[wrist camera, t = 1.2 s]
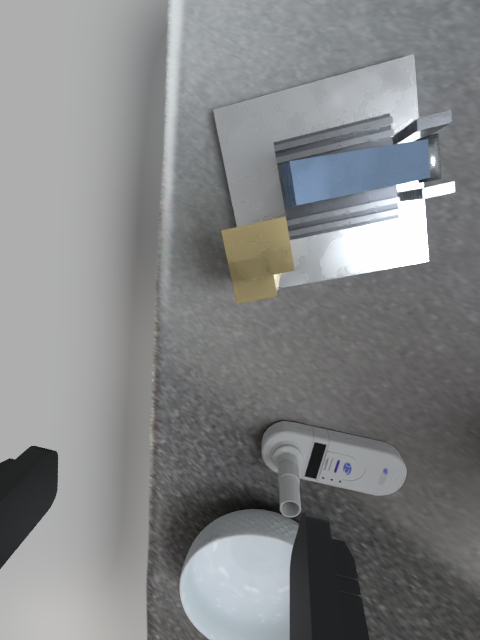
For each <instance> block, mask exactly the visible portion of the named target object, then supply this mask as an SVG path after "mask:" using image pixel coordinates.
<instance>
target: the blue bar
mask: <svg viewBox="0 0 480 640" xmlns="http://www.w3.org/2000/svg"><path fill="white" fill-rule="evenodd" d="M281 169H282V175H283V181H284V187H285V193H286V199H287V205H288V207H293V206H298V205H303V204H308V203H312V202H317V201H322V200H327V199H332V198H336V197H341V196H346V195H351V194H356V193H360V192H365V191H370V190H375V189H380V188H384V187H389V186H394V185H399V184H404V183H408V182H413V181H418V183H423V182H428V181H432V180H437V179H441V164H440V147H439V134H433V135H429V136H425V137H422V138H419V139H416V140H415V141H413V142H406V143H400V144H394V145H388V146H381V147H375V148H369V149H363V150H356V151H350V152H344V153H338V154H331V155H325V156H319V157H312V158H306V159H300V160H294V161H289V162H287V163H285V164H283V165H281Z"/></svg>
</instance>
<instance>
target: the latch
mask: <svg viewBox="0 0 480 640" xmlns="http://www.w3.org/2000/svg"><path fill="white" fill-rule="evenodd" d="M221 233H222V237H223V242H224V247H225V251H226V256H227V261H228V265H229V270H230V275H231V279H232V284H233V289H234V293H235V298H236V303H237V304H239V303H245V302H251V301H256V300H262V299H268V298H273V297H278V288H279V279H280V276H279V274H281V273H286V272H291V271H295V269H294V263H293V257H292V251H291V245H290V239H289V233H288V227H287V221H286V217H281V218H277V219H272V220H267V221H263V222H258V223H253V224H249V225H244V226H239V227H235V228H230V229H225V230H221Z"/></svg>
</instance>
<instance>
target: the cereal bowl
mask: <svg viewBox="0 0 480 640" xmlns="http://www.w3.org/2000/svg"><path fill="white" fill-rule="evenodd" d="M298 527H299V523H297V522H296V521H294V520H292V519H290V518H288V517H286V516H284V515H281V514H279V513H276V512H272V511H267V510H260V509H246V510H239V511H234V512H231V513H229V514H226V515H224V516H221V517H220V518H218V519H216V520H214V521H213V522H211V523H210V524H209V525H208V526H206V527H205V528H204V529H203V530H202V531H201V532H200V534H199V535H198V536H197V537H196V539H195V541H194V542H193V543H192V546H191V547H190V549H189V551H188V554H187V556H186V559H185V561H184V565H183V568H182V571H181V575H180V583H179V590H180V598H181V602H182V605H183V608H184V610H185V612H186V614H187V616H188V618H189V619H190V621H191V622H192V623H193V625H194V626H195V627H196V628H197V629H198V630H199V631H200V632H201V633H202V634H203V635H204V636H206V637H207V638H208V639H209V640H290V561H291V554H292V549H293V545H294V542H295V538H296V534H297V531H298Z"/></svg>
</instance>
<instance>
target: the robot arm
mask: <svg viewBox="0 0 480 640" xmlns="http://www.w3.org/2000/svg"><path fill="white" fill-rule="evenodd" d="M57 483H58V454H57V452H56V451H53V450H49V449H45V448H41V447H37V446H31V447H29V448H28V449H27V450H26V451H25V452H23V453H22V454H21V455H20V456H19V457H18V458H17V459H15V460H14V459H10V458H9V459H8V460H6V461H3V462H1V463H0V569H1V567H2V566H3V565H4V564H5V563H6V561H7V560H8V559H9V557H10V556H11V555H12V554H13V553H14V551H15V550H16V549H17V548H18V547H19V545H20V544H21V543H22V542H23V540H24V539H25V538H26V537H27V536H28V534H29V533H30V532H31V531H32V530H33V528H34V527H35V526H36V525H37V523H38V522H39V521H40V520H41V518H42V517H43V516H44V515H45V514H46V512H47V511H48V510H49V508H50V507H51V505H52V503H53V501H54V499H55V496H56V493H57ZM290 640H369V635H368V630H367V625H366V619H365V614H364V609H363V603H362V599H361V593H360V587H359V582H358V577H357V571H356V566H355V561H354V558H353V556H352V555H351V553H350V551H349V549H348V547H347V546H346V544H345V542H344V541H340V540H336V539H332V538H331V531H330V523H329V519H328V518H327V517H323V516H319V515H315V514H311V513H307V512H303V514H302V517H301V520H300V524H299V527H298V531H297V534H296V538H295V542H294V545H293V549H292V554H291V561H290Z"/></svg>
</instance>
